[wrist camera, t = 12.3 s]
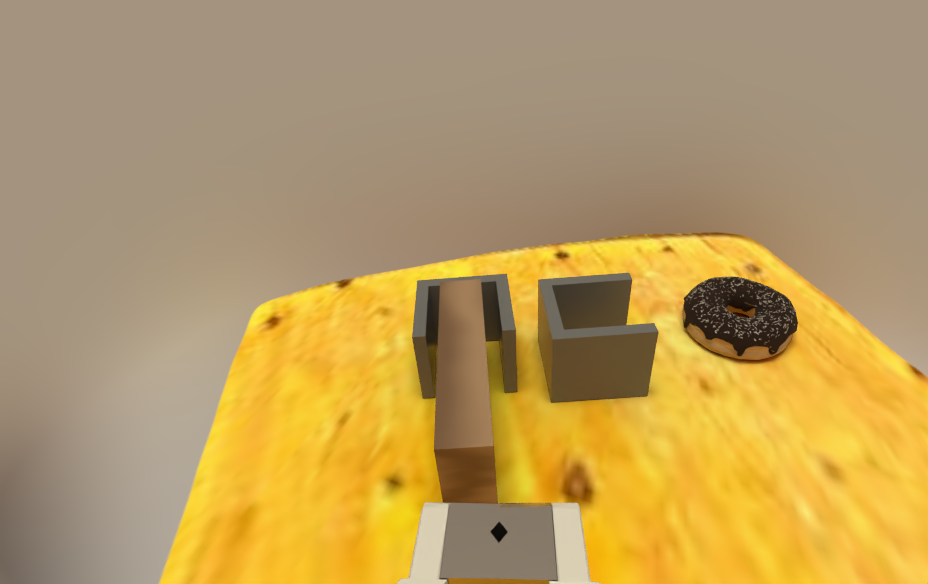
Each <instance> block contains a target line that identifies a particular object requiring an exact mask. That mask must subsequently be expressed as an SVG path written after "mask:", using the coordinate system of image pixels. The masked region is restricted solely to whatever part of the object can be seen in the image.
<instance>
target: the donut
mask: <svg viewBox="0 0 928 584" xmlns="http://www.w3.org/2000/svg"><path fill="white" fill-rule="evenodd" d="M684 300H685V302H684V306H683V307H684V308H683V321H684V327H685V328H686V329H687V331H688V332H689V333H690V335H691V336H692V337H693V338H694V339H695V340H696V341H697V342H698V343H700V344H701V345H703V346H704V347H706V348H707V349H709V350H711V351H713V352H716V353H719V354H721V355H724V356H728V357H732V358H737V359H748V360H761V359H765V358H769V357H772V356H774V355H776V354H778V353H780V352H781V351H783V350H784V349H785V348H786V347H787V345H788V344H789V342H790V341H791V339H792V335H793V333H794V332H796V331H797V324H798V322H797V317H796V312H795V311H796V310H795V308H794V307H793V305H792V303H791V301H790V300H789V299H788V298H787V297H786V296H785V295H783V294H781V293H779V292H777V291H776V290H774V289H772V288H770V287H768V286H765V285H763V284H761V283H757V282H756V281H755V282H754V281H750V280H748V279H745V278H742V277H741V278H739V277H717V278H716V277H715V278H710V279H708V280H706V281H704V282H702V283H700V284H698V285H697V286H696V287H695V288H693V289H692V290H691V291H690V292H689V294H688V295H687V296H686V297H685V298H684ZM731 312H737V313H741V314H744V315H747V316H749V317H750V318H742V317H738V316H735V315H734V314H733V313H731Z"/></svg>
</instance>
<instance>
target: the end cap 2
mask: <svg viewBox="0 0 928 584" xmlns="http://www.w3.org/2000/svg"><path fill="white" fill-rule="evenodd" d="M631 284H632V278H631V276H630V274H629V273H620V274H607V275H593V276H580V277H567V278H554V279H540V280H538V341H539V346H540V351H541V356H542V361H543V366H544V371H545V375H546V380H547V385H548V390H549V395H550V400H551V403H553V402H567V401H582V400H596V399H611V398H626V397H640V396H647V394H648V388H649V383H650V377H651V371H652V365H653V360H654V354H655V348H656V343H657V337H658V330H657V328H656V326H655V324H654V323H651V324H637V325H626V323H627V315H628V308H629V300H630V292H631Z"/></svg>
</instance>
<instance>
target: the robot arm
mask: <svg viewBox="0 0 928 584" xmlns="http://www.w3.org/2000/svg"><path fill="white" fill-rule="evenodd" d="M397 584H600V583H599V582H590V575H589V568H588V561H587V554H586V547H585V540H584V533H583V526H582V519H581V512H580V507H579V505H578V503H552V504H551V503H500V504H482V503H431V502H425V504H424V506H423V508H422V511H421V517H420V522H419V527H418V532H417V537H416V543H415V548H414V553H413V558H412V564H411V569H410V574H409V579H400V580H399V581H398V583H397Z"/></svg>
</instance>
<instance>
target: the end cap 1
mask: <svg viewBox="0 0 928 584" xmlns="http://www.w3.org/2000/svg"><path fill="white" fill-rule="evenodd" d="M475 279H481V288H482V301H483V314H484V327H485V340H486V341H496V340H499V343H500V352H501V361H502V370H503V379H504V387H505V393H509V392H517V366H516V330H515V323H514V317H513V311H512V304H511V298H510V291H509V285H508V279H507V274H499V275H485V276H472V277H459V278H446V279H433V280H419V281H417V291H416V302H415V313H414V324H413V335H412V339H413V344H414V350H415V356H416V361H417V367H418V373H419V379H420V384H421V390H422V396H423V398H435V382H436V352H437V345H438V327H439V299H440V282H448V281H461V280H475Z"/></svg>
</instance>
